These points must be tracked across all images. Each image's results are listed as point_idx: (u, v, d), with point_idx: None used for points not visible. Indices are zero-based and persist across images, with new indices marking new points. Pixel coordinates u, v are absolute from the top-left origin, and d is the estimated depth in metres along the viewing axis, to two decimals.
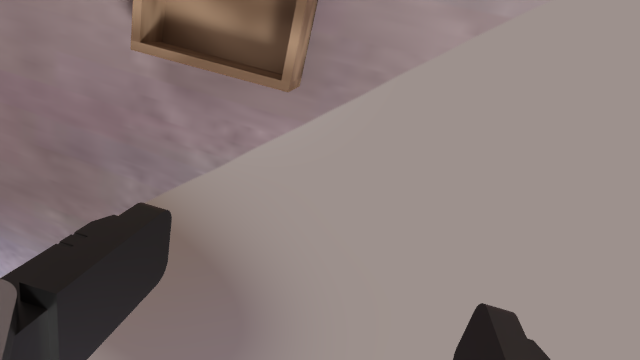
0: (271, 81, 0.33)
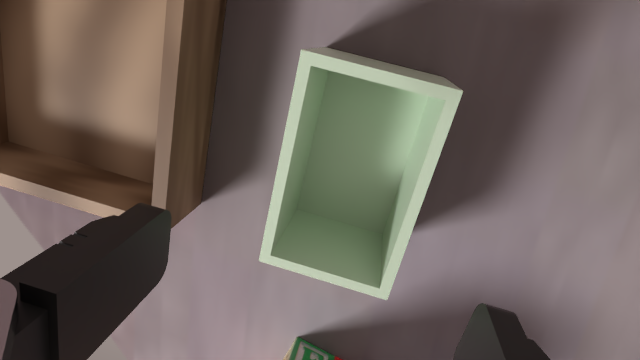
0: None
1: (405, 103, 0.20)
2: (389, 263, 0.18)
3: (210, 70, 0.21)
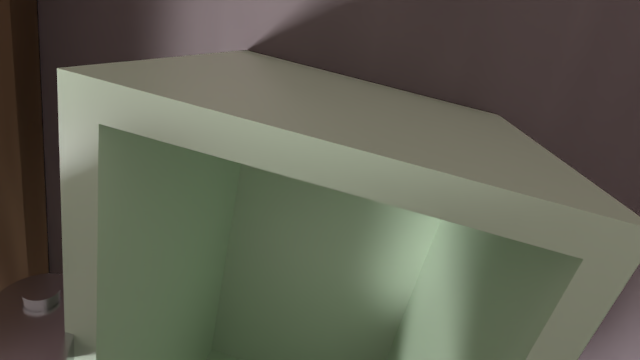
0: None
1: None
2: None
3: (9, 99, 0.10)
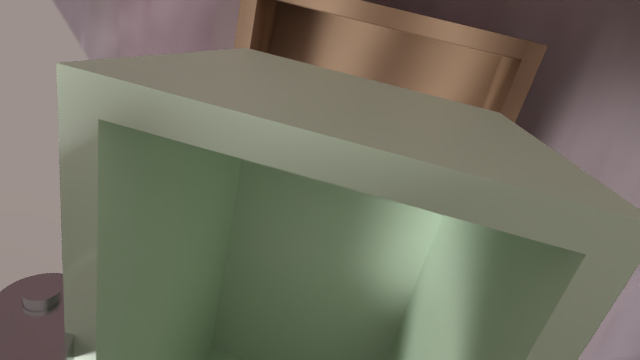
0: None
1: None
2: None
3: None
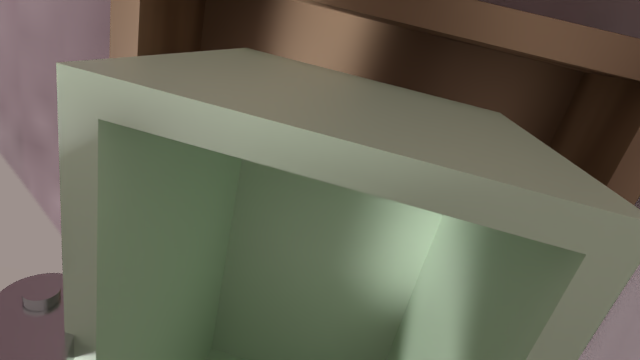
0: None
1: None
2: None
3: None
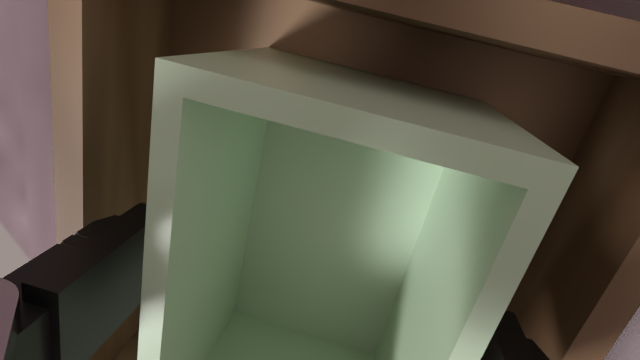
0: None
1: None
2: None
3: None
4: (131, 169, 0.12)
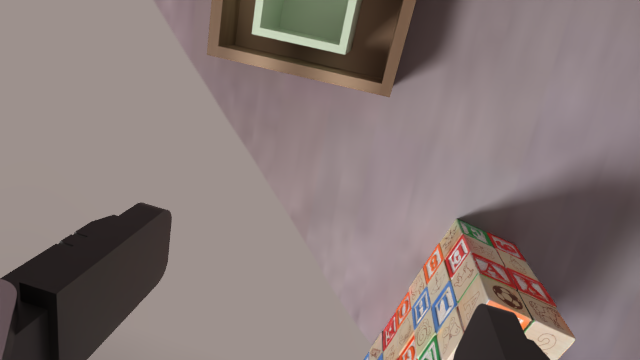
0: (215, 33, 0.28)
1: None
2: (344, 21, 0.25)
3: None
4: None
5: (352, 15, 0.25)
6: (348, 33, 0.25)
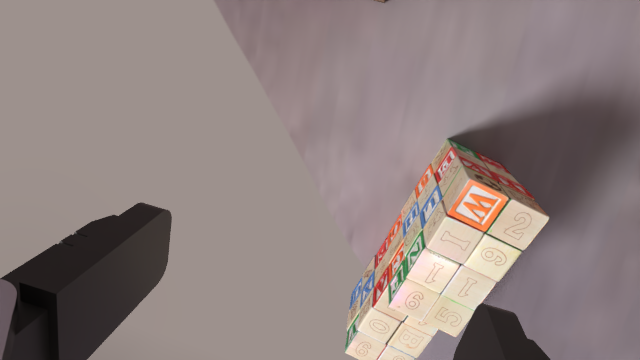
0: None
1: None
2: None
3: None
4: None
5: None
6: None
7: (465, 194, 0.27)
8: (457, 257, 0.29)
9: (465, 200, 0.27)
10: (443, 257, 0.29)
